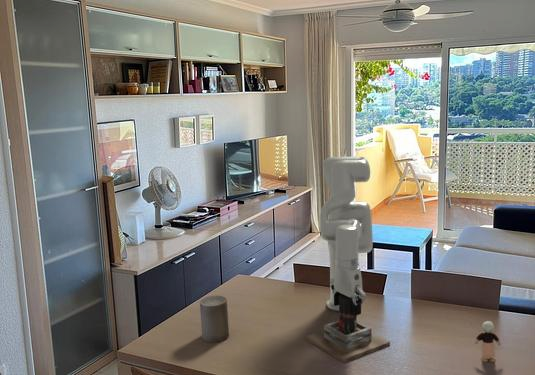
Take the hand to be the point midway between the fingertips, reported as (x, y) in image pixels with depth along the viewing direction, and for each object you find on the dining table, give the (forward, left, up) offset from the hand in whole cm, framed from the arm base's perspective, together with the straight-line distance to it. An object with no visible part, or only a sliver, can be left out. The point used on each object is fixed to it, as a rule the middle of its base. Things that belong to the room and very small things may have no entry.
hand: (347, 309), depth 178 cm
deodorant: (0, 0, -10) cm, 10 cm away
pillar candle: (+35, -30, -12) cm, 48 cm away
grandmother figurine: (-27, +35, -12) cm, 46 cm away
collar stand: (0, +1, -12) cm, 12 cm away
